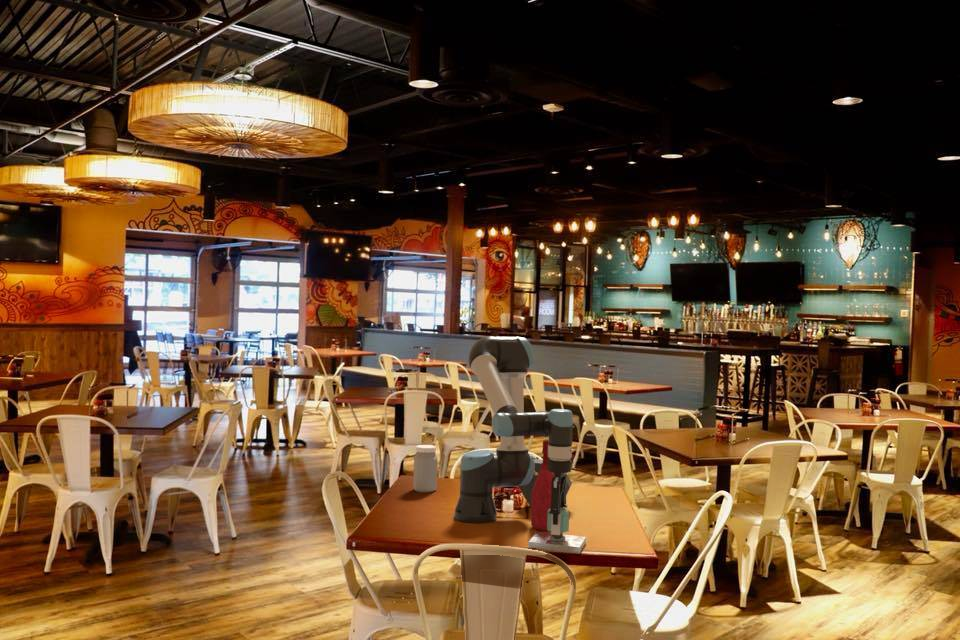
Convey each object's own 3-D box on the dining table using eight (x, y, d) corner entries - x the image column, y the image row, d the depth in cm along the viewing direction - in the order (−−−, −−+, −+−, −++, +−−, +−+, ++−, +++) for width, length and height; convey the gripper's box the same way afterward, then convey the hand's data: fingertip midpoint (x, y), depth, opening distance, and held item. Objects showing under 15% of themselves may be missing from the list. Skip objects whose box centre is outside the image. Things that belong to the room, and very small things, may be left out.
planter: (579, 495, 298) (551, 448, 301) (577, 500, 291) (548, 451, 293) (542, 517, 302) (514, 469, 304) (539, 522, 294) (510, 473, 297)
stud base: (528, 548, 245) (529, 516, 245) (536, 537, 257) (537, 507, 257) (579, 553, 241) (580, 521, 240) (585, 543, 252) (586, 512, 252)
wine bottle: (551, 533, 262) (554, 443, 262) (525, 528, 267) (528, 440, 267) (564, 527, 271) (566, 440, 271) (538, 522, 276) (540, 437, 276)
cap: (558, 533, 244) (559, 514, 244) (543, 529, 249) (543, 510, 249) (572, 530, 248) (573, 511, 248) (556, 526, 253) (557, 507, 253)
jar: (410, 492, 318) (411, 447, 318) (416, 486, 328) (417, 443, 328) (433, 493, 316) (435, 448, 316) (439, 488, 326) (440, 445, 326)
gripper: (566, 465, 238) (563, 541, 238) (576, 454, 257) (574, 524, 257) (541, 463, 240) (539, 538, 240) (553, 452, 259) (552, 522, 259)
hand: (557, 531), depth 249 cm, fingers closed on cap, 7 cm apart
